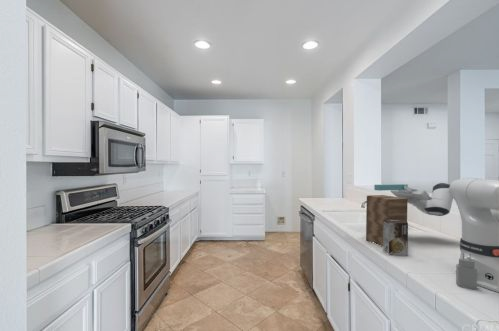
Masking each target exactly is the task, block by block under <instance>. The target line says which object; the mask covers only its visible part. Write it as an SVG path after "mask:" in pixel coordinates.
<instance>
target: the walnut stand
mask: <svg viewBox="0 0 499 331" xmlns="http://www.w3.org/2000/svg"><path fill="white" fill-rule="evenodd" d="M408 205H409V203H408V199H406V198H399V197H397V196H391V195H385V194H371V195H370V194H369V195H366V212H365V213H366V216H365V218H366V219H365V220H366V221H365V223H366V224H365V240H366V241H367V240H368V242H370V241H371V242H370V243H372V242H374V243H373V244H375V243H376V244H375V245H377V244H378V245H377V246H380V245H381V246H380V247H382V246H383V227H384V220H403V221H405V222H407V223H408Z"/></svg>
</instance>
